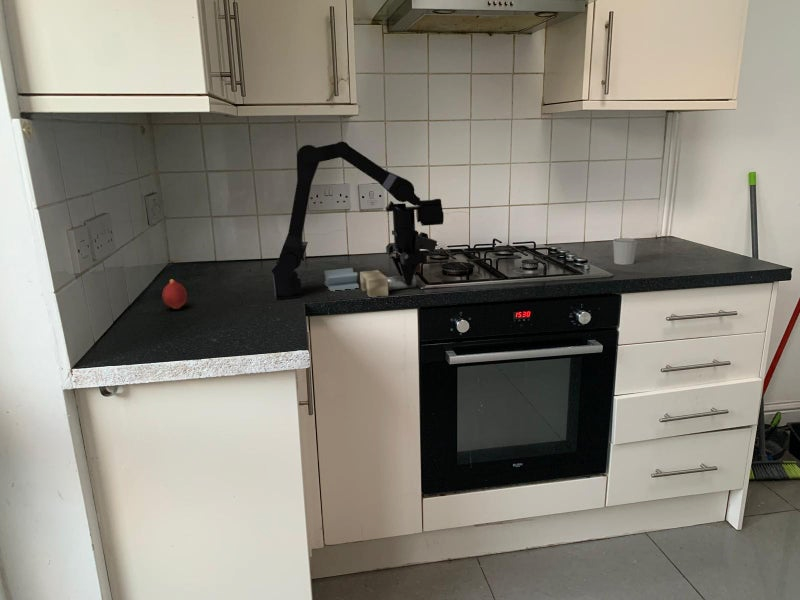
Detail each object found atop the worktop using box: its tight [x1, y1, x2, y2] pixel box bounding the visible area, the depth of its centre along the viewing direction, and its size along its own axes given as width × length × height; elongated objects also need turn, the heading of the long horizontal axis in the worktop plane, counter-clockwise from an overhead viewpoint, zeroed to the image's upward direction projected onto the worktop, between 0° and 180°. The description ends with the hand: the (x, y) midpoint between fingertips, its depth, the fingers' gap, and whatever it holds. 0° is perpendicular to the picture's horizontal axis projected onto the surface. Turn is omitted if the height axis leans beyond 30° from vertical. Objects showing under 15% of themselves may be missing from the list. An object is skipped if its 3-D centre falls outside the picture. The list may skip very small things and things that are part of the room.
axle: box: [386, 274, 417, 291], centre depth 159 cm, size 11×4×4 cm, turn 106°
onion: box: [161, 279, 188, 310], centre depth 149 cm, size 6×6×8 cm
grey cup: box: [612, 237, 638, 266], centre depth 178 cm, size 7×7×7 cm
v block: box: [323, 267, 360, 292], centre depth 165 cm, size 8×9×4 cm
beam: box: [359, 269, 389, 298], centre depth 157 cm, size 5×10×5 cm, turn 16°
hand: (407, 284), depth 160 cm, fingers closed on axle, 3 cm apart
